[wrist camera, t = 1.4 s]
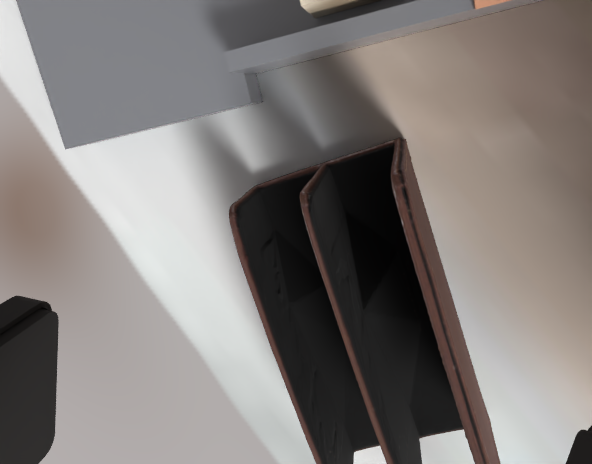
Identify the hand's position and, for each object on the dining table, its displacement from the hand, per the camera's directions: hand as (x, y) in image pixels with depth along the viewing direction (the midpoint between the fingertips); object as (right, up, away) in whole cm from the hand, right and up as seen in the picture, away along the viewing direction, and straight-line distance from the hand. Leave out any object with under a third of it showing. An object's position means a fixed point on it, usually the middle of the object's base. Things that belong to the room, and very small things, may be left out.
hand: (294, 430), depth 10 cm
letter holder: (+5, -1, +27) cm, 27 cm away
